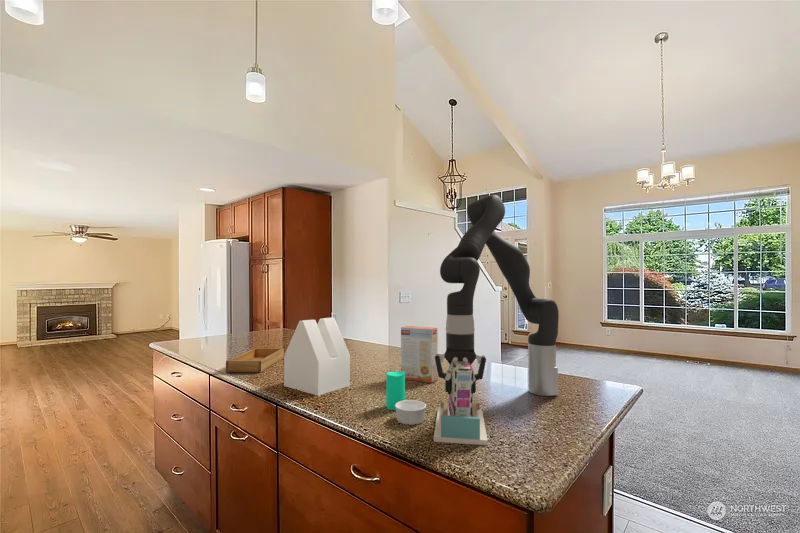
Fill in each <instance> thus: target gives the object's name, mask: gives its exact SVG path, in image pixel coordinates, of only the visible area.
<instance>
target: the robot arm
mask: <svg viewBox="0 0 800 533" xmlns="http://www.w3.org/2000/svg"><path fill="white" fill-rule="evenodd" d="M466 213H467V216H468V220H469V221H470V223H471V224H472V226H470V228H469V229H467V231H465V233H464V234H463V236H462V237H461V239H460V241H459V243H458V245H457V247H455V248H454V249H453V250H452V251H451V252H450V253H448V254H447V255H446V256H445V257H444V259H443V260H442V262H441V265H440V268H439V273H440V274H439V275H440V277H441V279H442V280H443V282H445V283H446V284H447V283H448V284H463V285H462V288H461V289H460V290H458V291H454V292H449V293H448V294H447V296H446V320H445V321H446V322H445V336H446V337H445V343H446V344H445V345H446V346H445V352H444V353H442V354H439V353H438V354H436V356H435V361H436V366H437V371H438V378H440V379H443V380H444V381H445V383H444V388H445V389H444V390H445V393H447V395H449V394H451V379H450V377H451V374H452V362H457V361H463V362H464V363H469V362H470V364H471V365H473V363H474V362H475V360H476V361H477V364H478V370H477V373H474V371H473V394H476V391H477V390H476V388H477V386H476V384H477V383H476V382H477V381H479V380H483V378H484V377H483V376H484V372H485V367H486V362H487V357H486V356H485V355H484V354H483V355H479V354H476V352H475V319H474V297H475V291H476V288H477V284H478V281H479V276H480V272H481V269H480V268H481V267H480V264H479V262H478V261H479V259H480V257H481V255H482V252H483V250H484V248H485V245H486V247H487V249H488V250H489V251H490V253H491V255H492V257H493V258H494V261H495V263H496V264H497V266H498V268H499V269H500V272H501V274H502V275H503V276H504V278H505V280H506V281H507V283H508V285H509V287H510V289H511V291H512V292H513V295H514V297H515V299H516V301H517V304H518V306H519V309H520V311H521V313H522V315H523V318H525V320H526V321H527V322H529V323H531V324H535V325H538V328H537V331H536V332H534V333H531V334H529V335H528V338H527V341H528V342H527V343H528V346H527V348H528V359H527V360H528V392H529V393H530V394H532V395H536V396H542V397H552V396H559V371H558V370H559V369H558V366H557V346H556V345H557V338H558V334H559V318H560V314H559V307H558V304H557V303H556V301H555V300H553V299H550V298H549V299H548V298H538V297H536V295H535V294H534V293H533V291H532V289H531V286H530V276H531V269H530V265H529V262H528V260H527V258H526V256H525V254H524V252H523V250H521V249H520V247H518V246H516V245H515V244H513V243H512V242H510V241H509V240H507V239H506V238H504V237H502V236H501V235H500V234H498V233H497V232H496V231H495V230H496V229H497V227H498V226H499V224H500V223H501V222H502V221H503V220H504V217H505V216H506V206H505V204H504V202H503V200H502V199H501V197H500V196H499V195H496V194H490V195H487V196H484V197H482V198H479V199H478V200H476V201H473V202H471V203H470V204H468V205H467V208H466ZM444 359H445V360H446V362H447V363H448V364H449V366H448V367H447V371H446V372H444V370H443V365H442V363H443V362H444Z"/></svg>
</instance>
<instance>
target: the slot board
mask: <svg viewBox="0 0 800 533" xmlns="http://www.w3.org/2000/svg"><path fill="white" fill-rule="evenodd" d="M480 405H481V404H480V402H479V401H474V402H472V417H467V416H450V412H449V401H447V400H445V399H444V400H443V399H442V400H440V406H438V407H437V408H438V409H437V415H436V419H435V426H434V433H433V443H434V442H435V443H448V444H461V445H462V444H463V445H465V444H467V445H479V446H488V436H487V430H486V429H487V428H486V424H485V419H484V414H483V409H482V408H480V407H481V406H480Z"/></svg>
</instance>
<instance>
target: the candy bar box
mask: <svg viewBox="0 0 800 533" xmlns="http://www.w3.org/2000/svg"><path fill="white" fill-rule="evenodd" d="M473 372H474V368H473V366H472V364H470V362H469V363H464V362H463V361H457V362H452V374H451V377H450V379H451V394H448V407H449V412H450V416H467V417H472V404H473V396H474V393H473Z"/></svg>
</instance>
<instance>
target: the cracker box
mask: <svg viewBox="0 0 800 533" xmlns="http://www.w3.org/2000/svg"><path fill="white" fill-rule="evenodd" d="M438 344H439V343H438V327H427V326H426V327H425V326H415V325H414V326H413V325H405V326H401V327H400V371H402V372H405V380H410V381H415V382H422V383H426V384H427V383H428V384H432V383H435V382H436V381H438V378H439V376H438V371H437V366H436V361H435V356H436V354H439V353H438V350H439V349H438Z"/></svg>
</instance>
